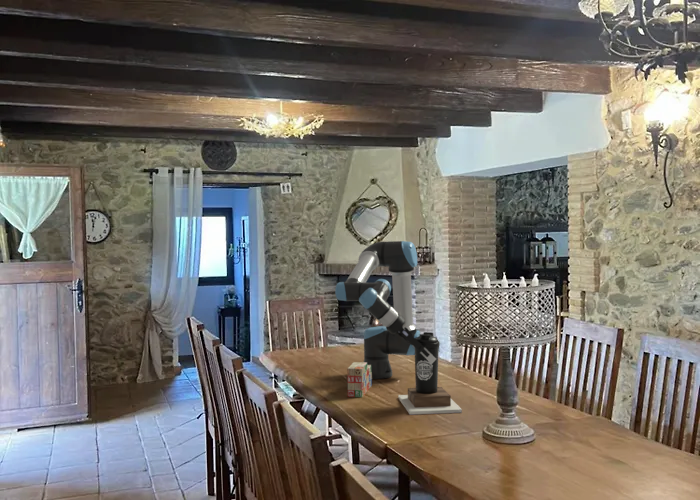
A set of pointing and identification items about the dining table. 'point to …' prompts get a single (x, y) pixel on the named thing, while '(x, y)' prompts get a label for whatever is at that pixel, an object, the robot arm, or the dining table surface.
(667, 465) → the dining table surface
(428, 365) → the water bottle
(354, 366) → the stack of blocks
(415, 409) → the base board
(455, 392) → the dining table surface
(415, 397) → the plinth
